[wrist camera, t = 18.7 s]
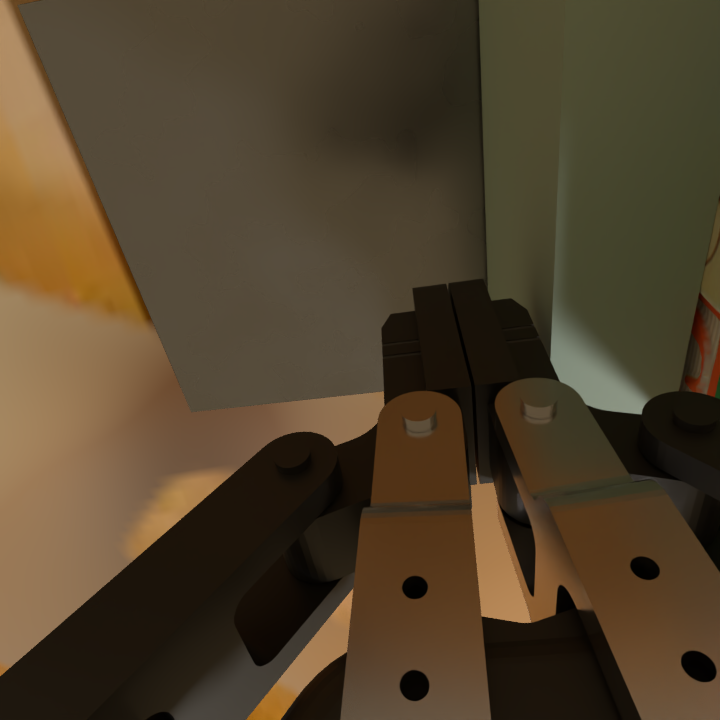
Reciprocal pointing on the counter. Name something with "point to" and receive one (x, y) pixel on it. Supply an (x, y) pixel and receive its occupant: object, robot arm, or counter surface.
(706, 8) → the sliding jaw
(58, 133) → the counter surface
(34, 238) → the counter surface
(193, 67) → the vise
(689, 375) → the stack of blocks
